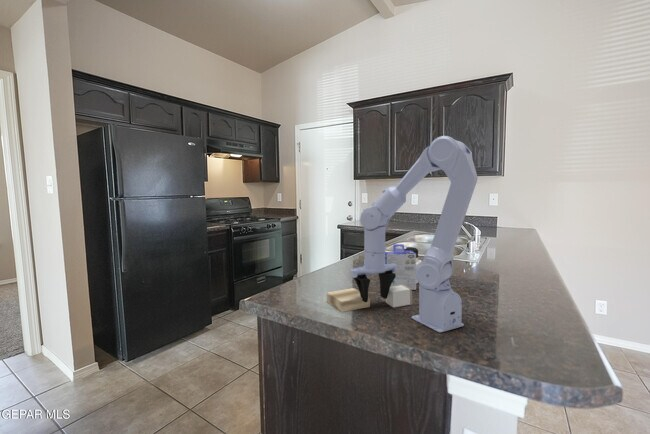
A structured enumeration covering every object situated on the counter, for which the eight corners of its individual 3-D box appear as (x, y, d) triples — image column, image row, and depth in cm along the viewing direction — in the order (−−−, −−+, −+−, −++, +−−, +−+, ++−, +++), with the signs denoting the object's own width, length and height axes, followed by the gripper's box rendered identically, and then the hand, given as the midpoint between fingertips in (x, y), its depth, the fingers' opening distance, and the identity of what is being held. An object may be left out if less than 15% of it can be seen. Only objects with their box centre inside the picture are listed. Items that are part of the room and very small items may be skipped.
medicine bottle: (422, 279, 111) (422, 247, 111) (416, 284, 105) (416, 250, 105) (402, 277, 115) (402, 245, 114) (396, 281, 109) (396, 248, 108)
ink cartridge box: (412, 285, 105) (412, 243, 104) (417, 290, 99) (417, 246, 98) (383, 285, 105) (383, 244, 104) (386, 291, 99) (386, 246, 98)
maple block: (369, 306, 85) (369, 296, 85) (341, 312, 82) (341, 301, 81) (353, 297, 94) (353, 287, 93) (326, 302, 90) (326, 292, 89)
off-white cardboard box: (393, 307, 85) (412, 304, 86) (393, 291, 84) (412, 288, 86) (385, 302, 89) (403, 299, 91) (385, 287, 89) (403, 284, 90)
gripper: (386, 246, 91) (386, 291, 92) (344, 251, 85) (344, 298, 86) (402, 250, 85) (401, 298, 86) (358, 255, 79) (357, 307, 80)
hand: (374, 299), depth 86 cm, fingers open, 6 cm apart
